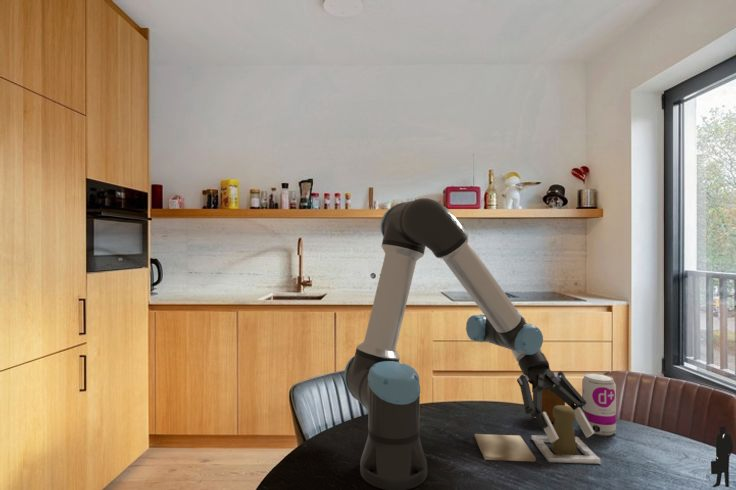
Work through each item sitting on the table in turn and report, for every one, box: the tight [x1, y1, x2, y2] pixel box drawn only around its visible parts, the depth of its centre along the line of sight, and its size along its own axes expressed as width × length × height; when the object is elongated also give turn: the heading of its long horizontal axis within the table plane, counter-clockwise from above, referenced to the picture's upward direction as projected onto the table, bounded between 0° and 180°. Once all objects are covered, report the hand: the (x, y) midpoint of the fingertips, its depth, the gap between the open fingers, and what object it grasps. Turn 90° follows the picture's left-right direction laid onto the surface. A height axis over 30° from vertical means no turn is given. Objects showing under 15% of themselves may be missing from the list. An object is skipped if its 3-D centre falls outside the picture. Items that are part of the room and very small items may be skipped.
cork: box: [550, 405, 578, 455], centre depth 102 cm, size 6×6×11 cm
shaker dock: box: [530, 434, 601, 465], centre depth 102 cm, size 12×12×1 cm
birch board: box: [474, 433, 537, 462], centre depth 103 cm, size 12×12×1 cm
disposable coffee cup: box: [542, 384, 566, 422], centre depth 123 cm, size 10×10×12 cm
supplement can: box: [581, 372, 617, 437], centre depth 114 cm, size 8×8×15 cm
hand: (572, 437), depth 99 cm, fingers open, 10 cm apart
